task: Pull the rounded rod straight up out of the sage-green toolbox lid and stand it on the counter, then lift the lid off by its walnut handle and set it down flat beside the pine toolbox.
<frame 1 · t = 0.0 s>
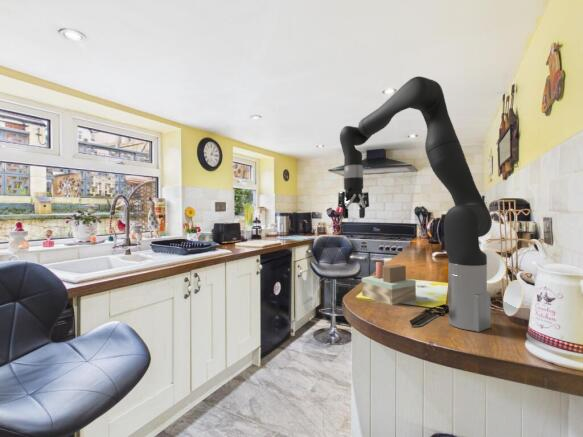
hand: (354, 218, 124), 29 cm above the worktop, tool pointing down, fingers open, 8 cm apart
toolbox: (388, 299, 111), on the worktop
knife: (430, 318, 94), on the worktop
lid: (387, 283, 111), point 6 cm above the worktop, touching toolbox
rounded rod: (379, 294, 115), point 1 cm above the worktop, touching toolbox
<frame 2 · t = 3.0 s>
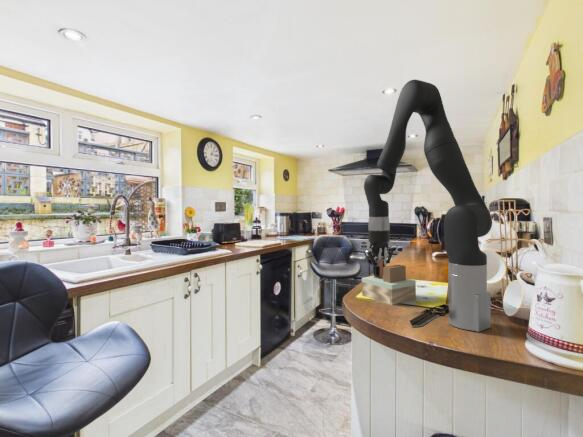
hand: (379, 275, 115), 8 cm above the worktop, tool pointing down, fingers closed on rounded rod, 2 cm apart
rounded rod: (379, 290, 115), point 3 cm above the worktop, touching gripper
everything else where it was.
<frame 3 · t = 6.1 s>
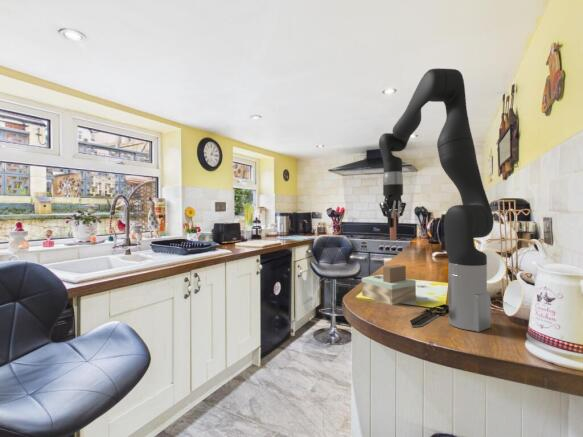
hand: (393, 227, 124), 25 cm above the worktop, tool pointing down, fingers closed on rounded rod
rounded rod: (393, 239, 124), point 20 cm above the worktop, touching gripper
everything else where it was.
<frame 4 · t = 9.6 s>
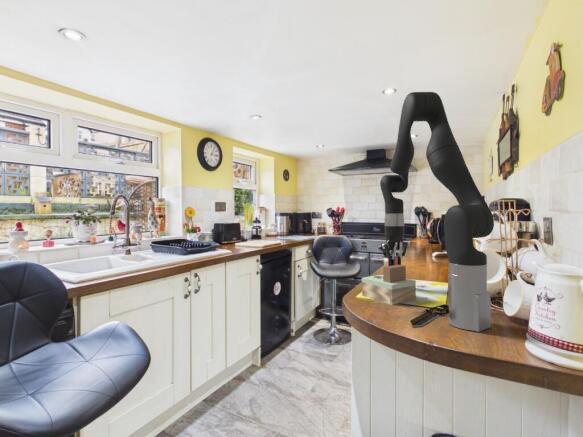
hand: (394, 267, 125), 9 cm above the worktop, tool pointing down, fingers open, 3 cm apart
rounded rod: (395, 285, 125), point 2 cm above the worktop
everything else where it was.
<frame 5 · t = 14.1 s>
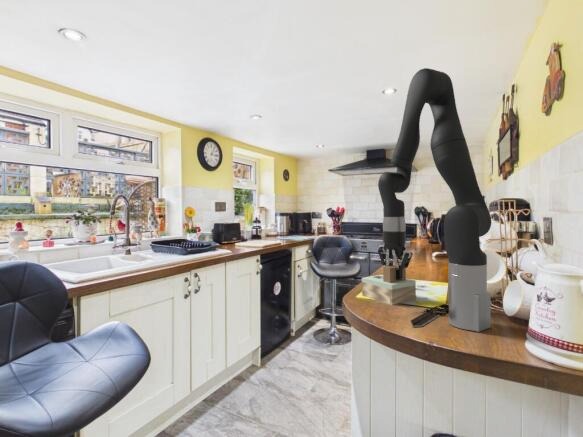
hand: (394, 278, 109), 8 cm above the worktop, tool pointing down, fingers closed on lid, 3 cm apart
lid: (387, 283, 111), point 6 cm above the worktop, touching gripper, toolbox
rounded rod: (395, 290, 125), on the worktop
everything else where it was.
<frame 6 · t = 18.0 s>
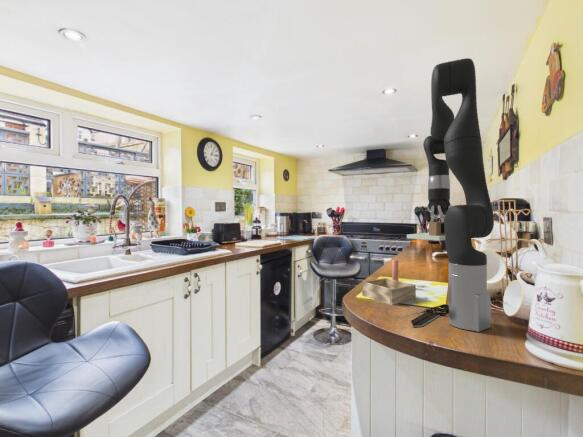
hand: (439, 233, 119), 23 cm above the worktop, tool pointing down, fingers closed on lid, 3 cm apart
lid: (432, 238, 121), point 21 cm above the worktop, touching gripper
everything else where it was.
when the fingers open (4 cm above the worktop, at t = 22.0 s): lid drops 1 cm, on the worktop.
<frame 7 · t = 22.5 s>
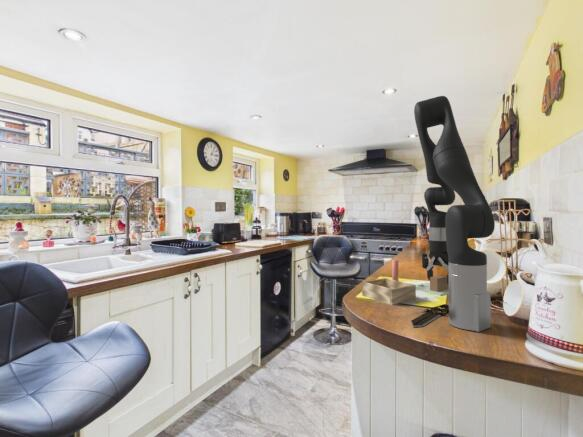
hand: (439, 281, 119), 4 cm above the worktop, tool pointing down, fingers open, 7 cm apart
lid: (432, 291, 121), on the worktop
everything else where it was.
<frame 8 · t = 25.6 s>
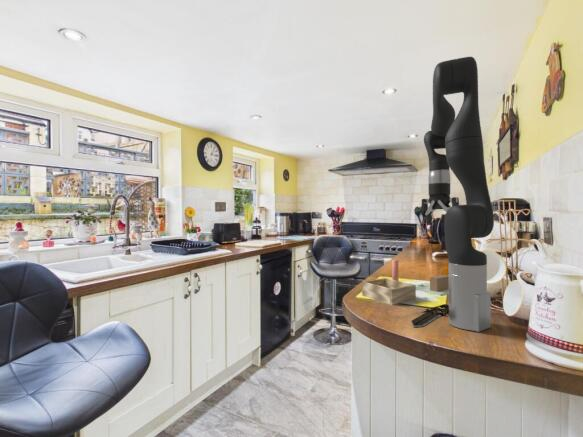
hand: (439, 225, 118), 26 cm above the worktop, tool pointing down, fingers open, 8 cm apart
nothing on the worktop moved.
at the end: lid inside the target area (0.1 cm from its centre), on the worktop; rounded rod inside the target area (0.2 cm from its centre), on the worktop; lid tilted 0° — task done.
